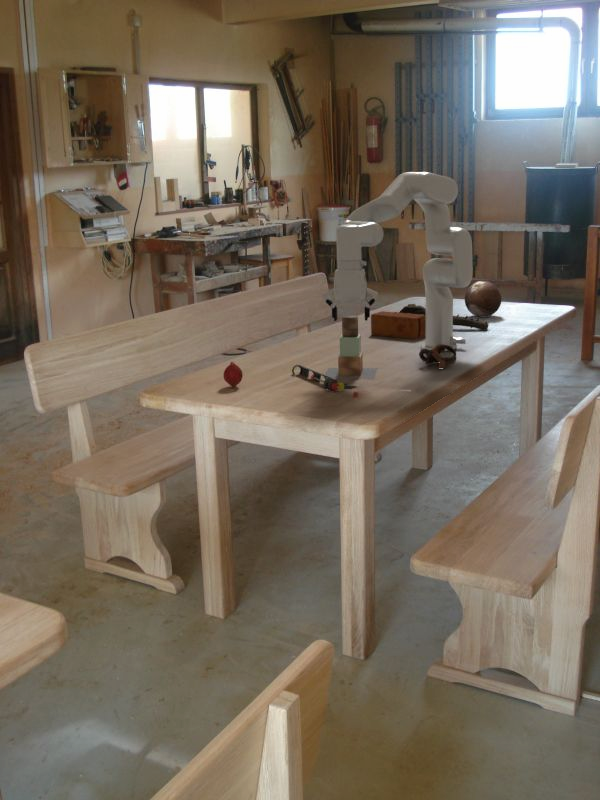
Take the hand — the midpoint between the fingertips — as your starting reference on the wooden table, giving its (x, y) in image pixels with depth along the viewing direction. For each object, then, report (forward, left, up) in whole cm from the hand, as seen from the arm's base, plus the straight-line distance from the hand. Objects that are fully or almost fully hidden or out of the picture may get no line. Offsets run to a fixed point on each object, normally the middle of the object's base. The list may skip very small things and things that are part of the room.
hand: (351, 319), depth 295 cm
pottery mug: (-27, -11, -18) cm, 34 cm away
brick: (-11, -63, -18) cm, 66 cm away
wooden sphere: (-44, -103, -18) cm, 113 cm away
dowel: (0, 0, -5) cm, 5 cm away
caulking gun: (+5, +16, -18) cm, 24 cm away
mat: (0, 0, -17) cm, 17 cm away
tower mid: (0, 0, -11) cm, 11 cm away
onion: (+34, +18, -18) cm, 43 cm away
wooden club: (-26, -76, -18) cm, 82 cm away
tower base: (0, 0, -17) cm, 17 cm away
